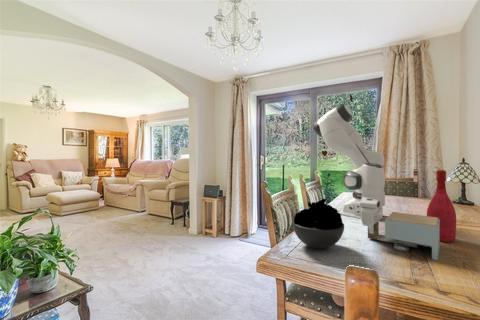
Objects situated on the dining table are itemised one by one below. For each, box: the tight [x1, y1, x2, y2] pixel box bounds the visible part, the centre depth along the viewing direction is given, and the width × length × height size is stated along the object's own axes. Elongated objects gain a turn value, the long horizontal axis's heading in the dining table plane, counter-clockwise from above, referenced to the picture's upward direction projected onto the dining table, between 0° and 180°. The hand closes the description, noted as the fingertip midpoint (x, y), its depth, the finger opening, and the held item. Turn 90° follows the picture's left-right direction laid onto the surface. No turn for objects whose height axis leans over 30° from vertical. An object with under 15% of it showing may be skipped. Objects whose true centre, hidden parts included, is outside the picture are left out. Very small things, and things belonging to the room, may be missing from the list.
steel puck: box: [393, 243, 410, 253], centre depth 94 cm, size 5×5×2 cm
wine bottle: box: [426, 169, 457, 243], centre depth 104 cm, size 10×10×30 cm
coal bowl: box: [292, 198, 345, 250], centre depth 97 cm, size 20×20×19 cm
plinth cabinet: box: [384, 211, 440, 261], centre depth 94 cm, size 16×14×12 cm
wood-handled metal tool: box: [367, 221, 419, 248], centre depth 100 cm, size 18×4×7 cm, turn 48°
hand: (373, 231), depth 105 cm, fingers closed on wood-handled metal tool, 3 cm apart
